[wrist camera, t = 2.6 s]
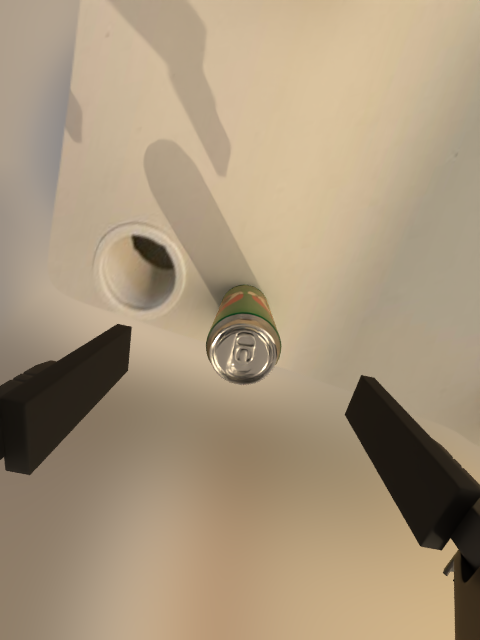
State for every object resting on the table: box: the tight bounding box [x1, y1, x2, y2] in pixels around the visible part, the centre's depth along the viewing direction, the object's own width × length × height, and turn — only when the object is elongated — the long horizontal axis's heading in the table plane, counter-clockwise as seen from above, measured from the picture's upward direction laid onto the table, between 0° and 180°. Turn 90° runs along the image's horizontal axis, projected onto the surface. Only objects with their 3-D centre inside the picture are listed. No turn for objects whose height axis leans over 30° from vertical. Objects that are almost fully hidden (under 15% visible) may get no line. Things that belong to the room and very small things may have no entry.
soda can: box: [206, 285, 281, 385], centre depth 21 cm, size 5×5×12 cm
